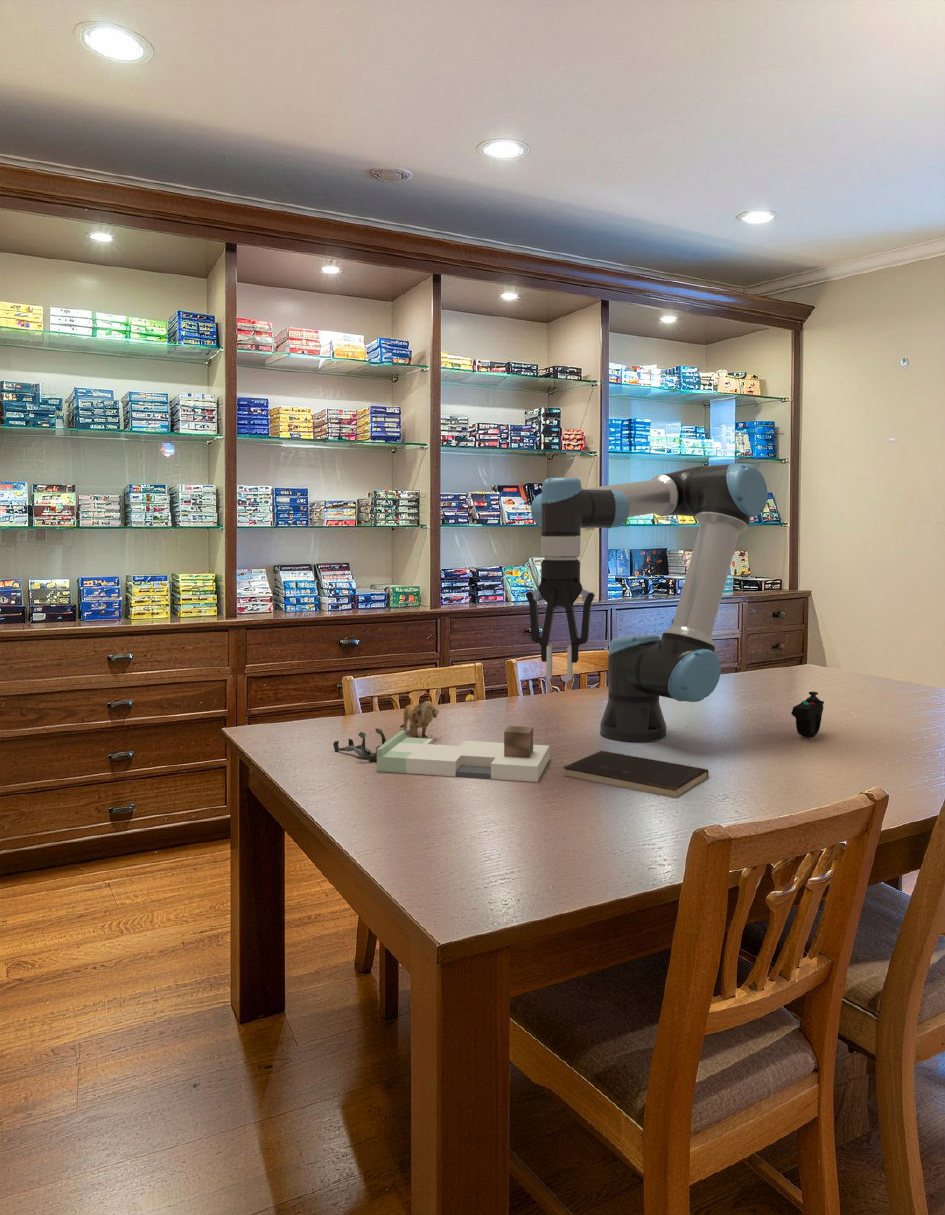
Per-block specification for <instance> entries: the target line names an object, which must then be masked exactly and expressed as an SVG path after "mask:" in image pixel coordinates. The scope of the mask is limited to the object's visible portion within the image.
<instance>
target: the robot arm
mask: <svg viewBox="0 0 945 1215" xmlns="http://www.w3.org/2000/svg"><path fill="white" fill-rule="evenodd" d="M768 494H769V493H768V487H767V482H766V481H765V476H764V475H763V473H762V472H761V471H760V469H758V468H757V467H756V466H755V465H753V464H750V463H738V462H732V463H730V464H717V465H705V466H704V465H702V466H701V465H700V466H693V467H690V468H685V469H681V470H677V471H673V472H670V473H664V474H657V475H655V476H653V477H652V478H651V479H649V480H642V481H634V482H633V481H632V482H626V483H618V484H610V485H609V484H608V485H602V486H594V487H587V488H582V482H581V480H580V478H577V477H549V478H546V479H545V480H544V481H543V482H542V487H541V493H540V494H537V495H536V496H535V497H534V498H533V501H532V502H531V506H530V514H531V515H530V516H531V518H532V520H533V522H534V523H535V524H536V525H537V526H538V527H541V529H540V530H541V535H540V536H541V537H540V539H541V540H540V543H541V544H540V551H541V552H540V556H541V557H542V558H543V559H541V561H540V583H539V584H538V586H537V587H538V588H536V589H534V590H530V591H528V592H526V593H525V597H526V599H527V602H528V604H529V617H530V634H531V635H530V636H531V641H532V642H533V643H536V644H539V645H540V659H541V662H544V663H546V666H545V667H546V668H545V670H546V674H545V675H546V677H545V678H546V680H549V681H550V680H551V679H552V678H553V644H549V643H550V635H551V631H552V625H553V619H554V614H555V609H556V608H557V607H561V608H564V610H565V614H566V619H567V626H568V632H569V638H570V644H569V645H568V646H567V650H566V651H567V656H566V657H567V659H566V660H567V662H566V666H567V668H566V669H567V670H566V672H567V673H566V674H567V676H566V681H572V680H573V676H574V675H573V673H574V672H573V671H574V670H573V669H574V668H573V666H574V664H578V661H579V646H581V645H585V644H586V643H588V640H589V633H590V620H591V606H592V603H593V601H594V599H595V596H596V595H595V593H594V592H592V591H591V592H590V591H588V590H586V589H584V588H583V585H582V583H581V561H580V560H579V559H578V558H580V557H581V532H582V531H581V529H583V528H584V529H590V528H591V529H593V528H595V529H597V528H599V529H603V528H604V529H609V530H610V529H611V528H620V527H621V526H623V525H624V524H625V523H626V522H627V521H628V518H631V517H637V516H643V515H644V516H645V515H651V514H655V515H656V516H660V517H667V516H684V517H685V516H686V517H695V520H696V521H697V523H698V524H699V528H698V532H697V535H696V538H695V543H694V546H693V549H692V554H691V557H690V561H689V564H688V568H687V570H686V574H685V578H684V581H683V582H684V583H683V586H682V590H681V593H680V596H679V600H678V604H677V608H676V610H675V614H674V618H673V621H672V625H671V627H669V628H668V629H665V630H664V631H663V632H662V634H661V637H660V635H658V634H650V635H649V634H648V635H647V634H645V635H644V634H643V635H631V636H621V637H615V638H613V639H611V641H610V642H609V648H608V654H607V658H608V659H607V660H608V663H607V666H608V668H607V669H608V670H607V672H608V674H607V675H608V676H607V678H608V681H607V684H608V686H607V687H608V694H607V695H608V697H607V702H606V703H607V704H606V706H605V709H604V712H603V715H602V718H601V721H600V726H599V731H600V732H599V733H600V735H602V736H603V737H604V738H607V739H611V740H616V741H623V742H632V743H633V742H635V743H637V742H638V743H639V742H641V743H642V742H655V741H659V740H662V739H664V738H666V737H667V723H666V721H665V717H664V714H663V711H662V708H661V704H660V697H663V698H668V699H672V700H675V701H677V702H686V703H687V702H688V703H697V702H701V701H703V700H705V698H707V697H709V696H710V695H711V694H712V693H713V692H714V691H715V689H716V687H717V685H718V683H719V681H720V677H721V670H722V668H721V666H720V664H721V663H720V662H721V661H720V658H719V657H718V655H717V654H716V653H715V651H716V644H715V642H714V641H713V639H712V634H713V630H714V626H715V622H716V619H717V615H718V612H719V608H720V606H721V601H722V597H723V593H724V590H725V587H726V586H725V585H726V583H727V579H728V575H729V571H730V568H731V565H732V561H733V558H734V553H735V549H736V546H737V542H738V538H739V535H741V534H742V533H744V532H746V531H747V530H748V529H749V524H750V521H751V518H755V517H757V516H760V514H761V513H763V512H764V511H765V508H766V505H767V503H768V497H769V496H768ZM540 595H541V596H542V598H543V599H544V600H545V602H546V609H545V610H546V612H545V617H544V622H543V628H542V634H541V635H540V623H539V604H538V601H539V599H540ZM580 595H581V601H582V602H583V607H582V618H581V632H580V637H579V634H578V629H577V621H576V616H575V608H574V603H575V602H576V600H577V599H578V598H579V596H580ZM573 663H574V664H573Z"/></svg>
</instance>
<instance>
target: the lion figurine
mask: <svg viewBox="0 0 945 1215" xmlns="http://www.w3.org/2000/svg"><path fill="white" fill-rule="evenodd" d="M439 713H440V710H438V709H437V708H436V707H435V706H433V702H432V701H427V700H426V701H423V702H420V703H419V704H417V705H414V704H408V705H406V706H405V708H404V710H403V724H401V725H400V726H399V728H402V730H406V735H407V734H408V729H407V728H408V721H409V730H410V731H413V732H412V733H413V737H412V738H419V733H418V730H419V729H420V728H421V738H426V739H429V736H428V735H426V732H427V729H428V728H427V727H429V724H431V723H432V722H433V719H437V717H438V715H439ZM418 728H419V729H418Z"/></svg>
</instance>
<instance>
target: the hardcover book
mask: <svg viewBox="0 0 945 1215" xmlns="http://www.w3.org/2000/svg"><path fill="white" fill-rule="evenodd" d="M562 769H564V771H565V777H569V778H575V779H580V780H584V781H590V782H594V783H595V782H596V783H600V784H604V785H609V786H610V785H611V786H614V787H621V788H625V789H631V790H635V791H641V792H646V793H648V794H649V793H650V794H654V795H659V794H661V796H665V795H666V797H671V798H676V797H678V796H679V795H681V794H682V793H684V792H686V791H687V790H689V789H690V788H689V787H691V788H692V787H694V786H695V784H696V785H698V784H699V783H700V782H702V781H703V780H705V779H707V778H709V769H708V768H703V767H702V768H701V767H697V766H692V765H691V766H690V765H687V764H680V763H674V762H667V761H663V760H657V759H651V758H647V757H641V756H640V757H639V756H634V755H629V754H628V755H627V754H623V753H618V752H613V751H612V752H611V751H606V750H605V751H604V750H599V751H597V752H594V753H593V754H590V755H588V756H585V757H584V758H581V759H578V760H577V761H574V762H572V763H569V764H568V765H565V766H563V768H562ZM701 780H702V781H701ZM699 781H700V782H699ZM698 782H699V783H698ZM688 788H689V789H688ZM677 795H678V796H677Z"/></svg>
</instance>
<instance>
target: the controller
mask: <svg viewBox="0 0 945 1215" xmlns="http://www.w3.org/2000/svg"><path fill="white" fill-rule="evenodd" d="M808 695H810V696H808V697H806V699H805V700H802V701H801V702H800V703H799V704H796V705H795V706H793V707H792V710H791V713H790V714H791V715H792V717H794V718H795V725H796V726H795V727H796V731H797V733H798V734H799V736H801V737H803V738H810V739H811V738H814V737H816V736H817V735H818V733H819V730H820V728H821V723H822V716H823V712H824V703H825V701H824V700H820V699H819V697H817V695H819V692H818V691H808Z"/></svg>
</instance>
